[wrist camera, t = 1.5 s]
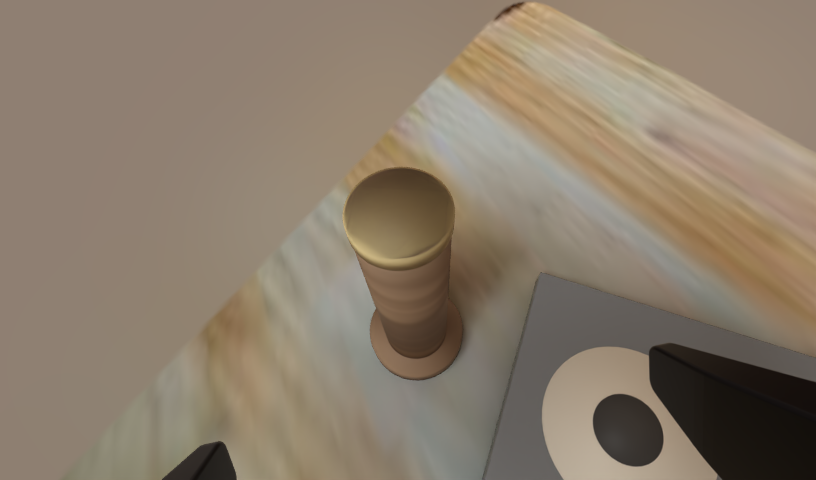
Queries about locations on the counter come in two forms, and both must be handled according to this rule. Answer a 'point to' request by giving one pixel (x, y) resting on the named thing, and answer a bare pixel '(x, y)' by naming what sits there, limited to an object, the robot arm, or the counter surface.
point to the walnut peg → (406, 268)
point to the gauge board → (605, 389)
